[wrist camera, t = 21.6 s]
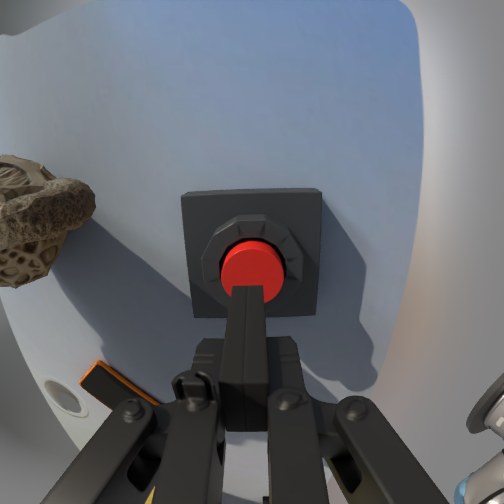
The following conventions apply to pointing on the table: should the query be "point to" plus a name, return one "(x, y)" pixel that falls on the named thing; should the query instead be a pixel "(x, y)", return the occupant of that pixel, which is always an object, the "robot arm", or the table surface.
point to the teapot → (36, 218)
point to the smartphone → (110, 386)
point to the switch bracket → (266, 500)
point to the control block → (253, 228)
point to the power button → (253, 268)
